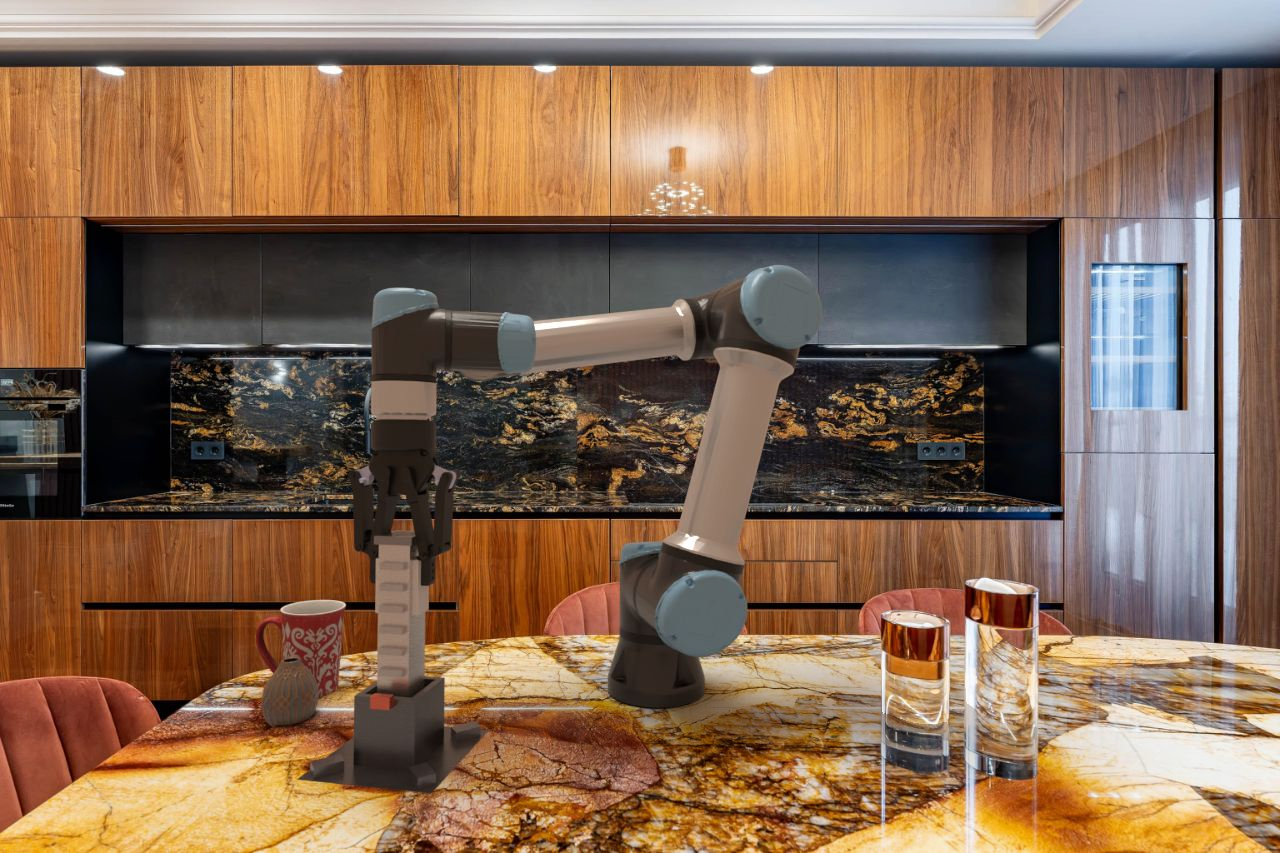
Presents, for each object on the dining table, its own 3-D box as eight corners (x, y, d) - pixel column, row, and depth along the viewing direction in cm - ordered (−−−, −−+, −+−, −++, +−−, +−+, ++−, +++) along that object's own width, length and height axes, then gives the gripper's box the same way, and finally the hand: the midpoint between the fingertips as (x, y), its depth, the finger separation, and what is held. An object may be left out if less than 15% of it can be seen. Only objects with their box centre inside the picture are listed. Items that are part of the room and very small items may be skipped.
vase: (248, 730, 92) (249, 664, 92) (291, 710, 98) (292, 649, 98) (288, 738, 89) (289, 670, 89) (329, 718, 96) (330, 654, 96)
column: (428, 709, 85) (430, 531, 86) (408, 726, 81) (410, 537, 81) (392, 706, 86) (395, 530, 86) (370, 723, 81) (373, 536, 82)
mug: (354, 685, 108) (355, 599, 108) (329, 708, 99) (330, 614, 99) (273, 685, 108) (274, 598, 108) (240, 708, 99) (241, 613, 99)
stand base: (488, 737, 90) (489, 664, 90) (431, 802, 74) (432, 713, 74) (375, 727, 93) (376, 657, 93) (297, 788, 77) (298, 702, 77)
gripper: (482, 419, 86) (481, 607, 86) (357, 418, 89) (355, 600, 89) (457, 417, 79) (455, 623, 79) (320, 417, 82) (318, 615, 81)
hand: (402, 610), depth 84 cm, fingers closed on column, 4 cm apart
